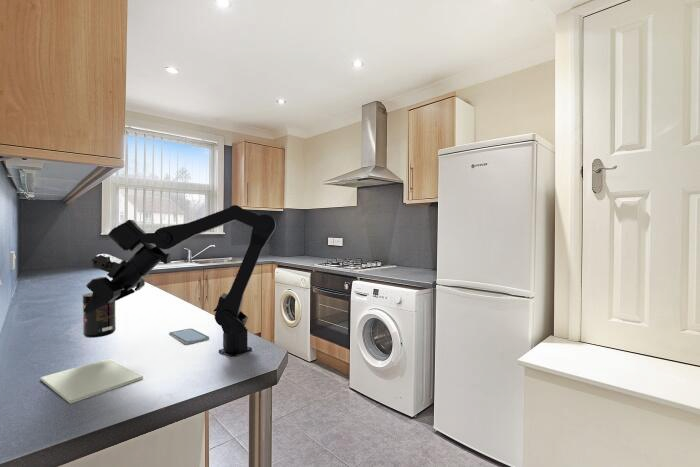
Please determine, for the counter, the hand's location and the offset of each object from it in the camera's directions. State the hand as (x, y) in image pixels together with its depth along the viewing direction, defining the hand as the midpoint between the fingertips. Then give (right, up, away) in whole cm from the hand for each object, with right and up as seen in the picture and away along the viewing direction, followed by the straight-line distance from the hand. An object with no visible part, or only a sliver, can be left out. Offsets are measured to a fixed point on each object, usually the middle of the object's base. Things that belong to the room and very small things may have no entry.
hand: (93, 308), depth 85 cm
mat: (+8, -13, -11) cm, 19 cm away
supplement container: (+1, -7, 0) cm, 7 cm away
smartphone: (+15, -14, +20) cm, 28 cm away
